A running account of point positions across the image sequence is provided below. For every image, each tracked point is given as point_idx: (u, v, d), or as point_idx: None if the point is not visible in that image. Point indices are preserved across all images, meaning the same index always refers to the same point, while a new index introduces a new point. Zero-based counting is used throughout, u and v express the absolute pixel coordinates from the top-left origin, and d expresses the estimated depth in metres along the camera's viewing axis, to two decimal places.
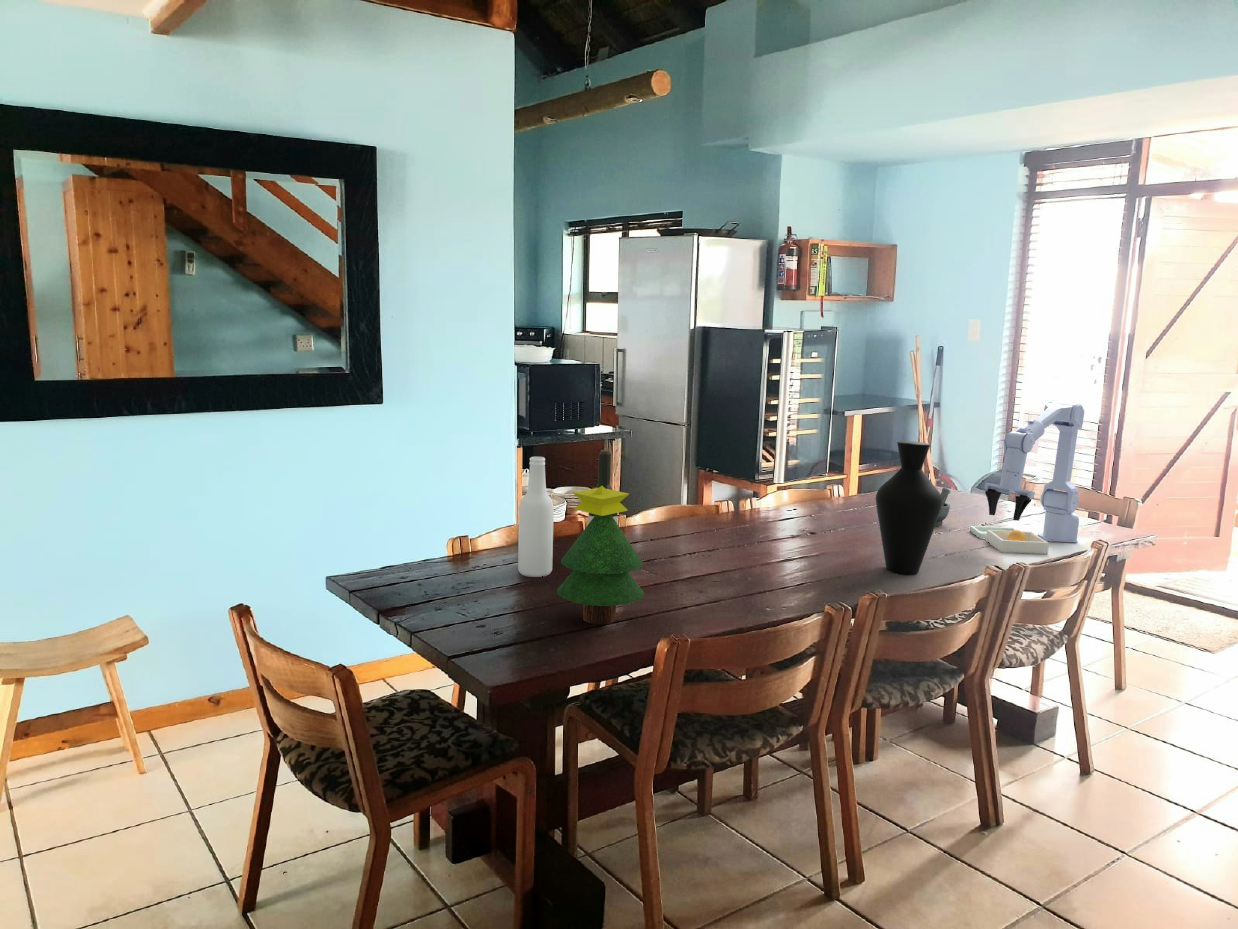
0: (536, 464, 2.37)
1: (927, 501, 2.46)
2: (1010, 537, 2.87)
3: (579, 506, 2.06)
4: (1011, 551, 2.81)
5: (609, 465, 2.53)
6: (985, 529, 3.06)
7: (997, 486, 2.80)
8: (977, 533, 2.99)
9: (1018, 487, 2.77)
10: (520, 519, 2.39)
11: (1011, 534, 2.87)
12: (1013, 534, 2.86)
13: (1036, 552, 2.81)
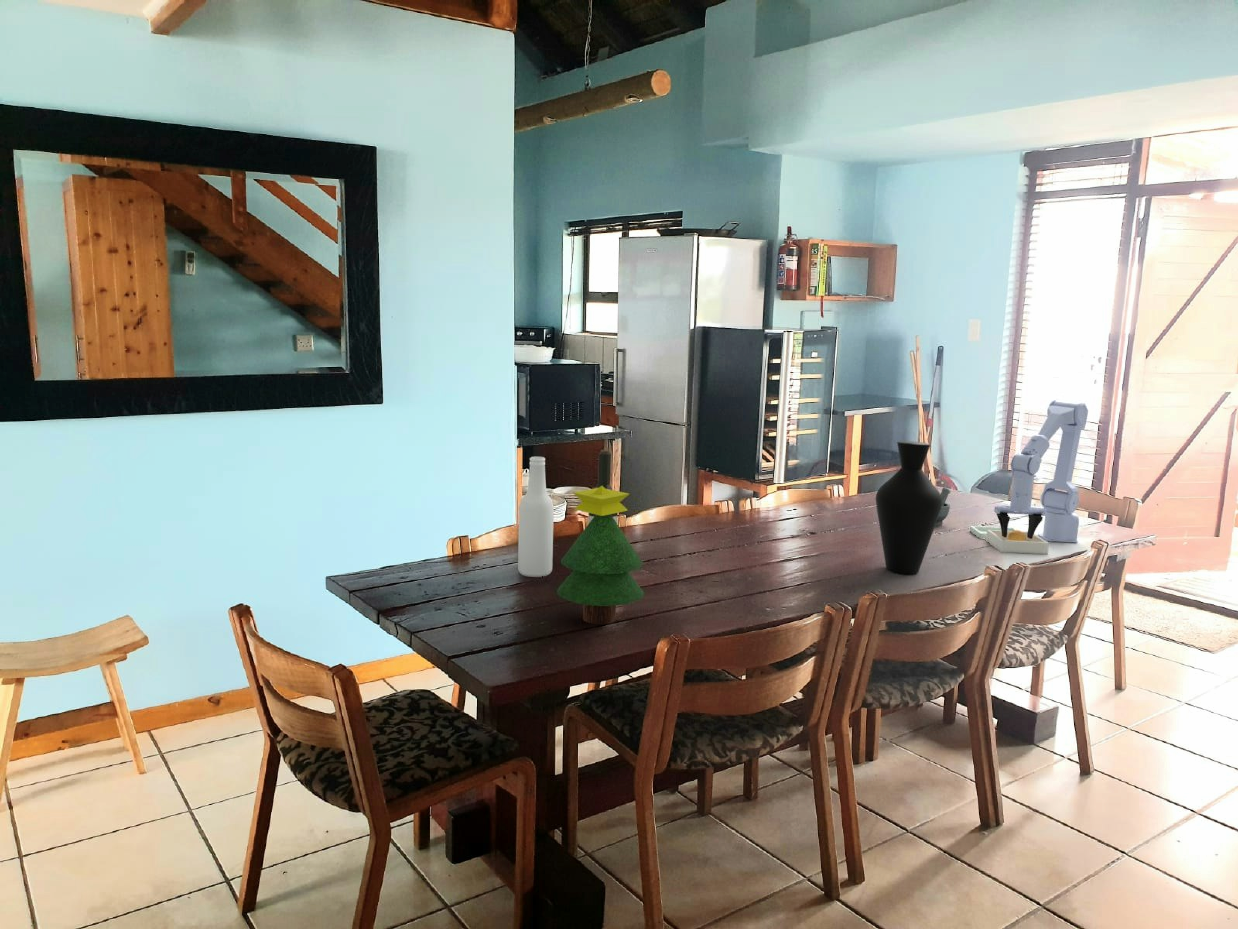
0: (536, 464, 2.37)
1: (927, 501, 2.46)
2: (1010, 537, 2.87)
3: (579, 506, 2.06)
4: (1011, 551, 2.81)
5: (609, 465, 2.53)
6: (985, 529, 3.06)
7: (1014, 510, 2.84)
8: (977, 533, 2.99)
9: None
10: (520, 519, 2.39)
11: (1011, 534, 2.87)
12: (1013, 534, 2.86)
13: (1036, 552, 2.81)
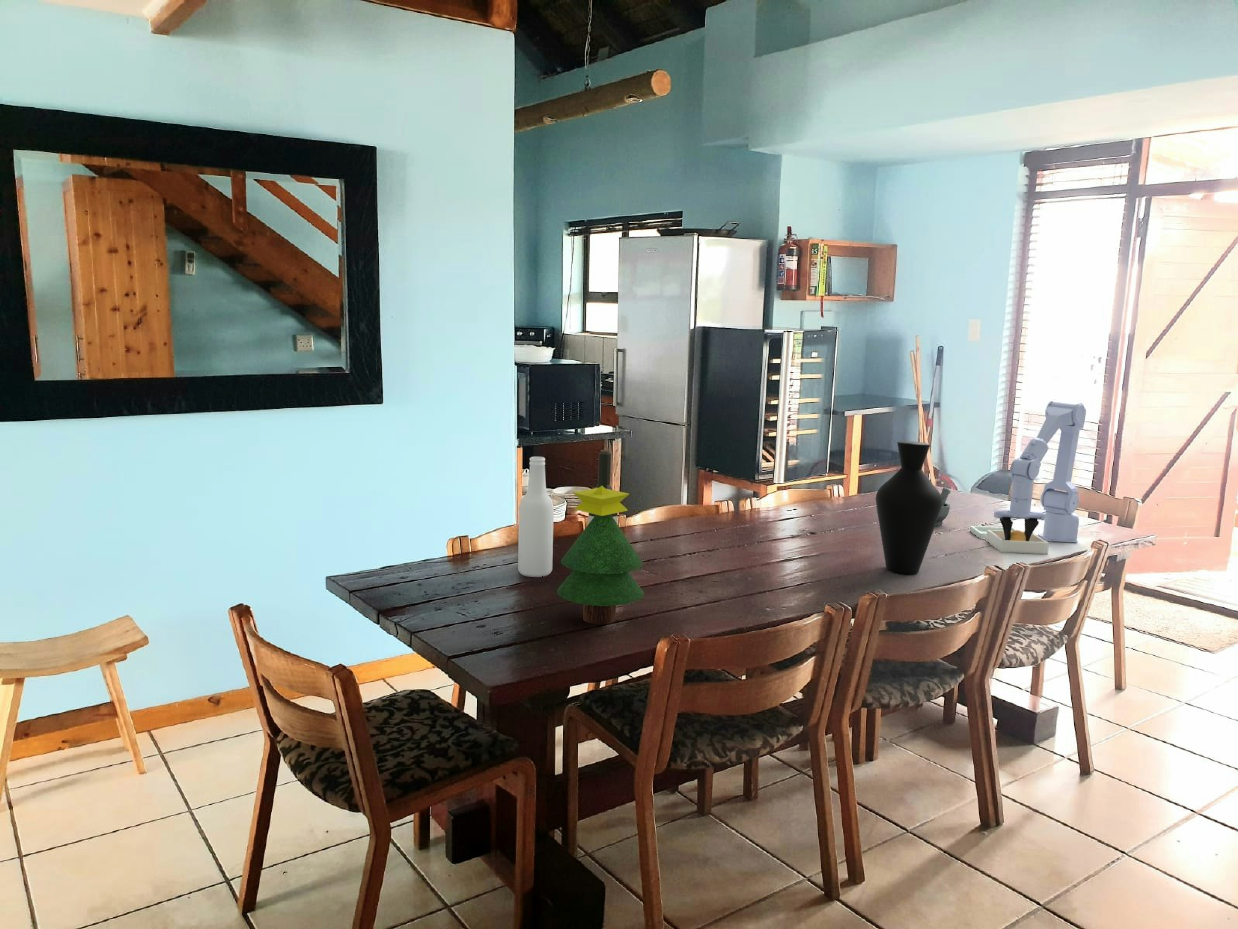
0: (536, 464, 2.37)
1: (927, 501, 2.46)
2: (1010, 537, 2.87)
3: (579, 506, 2.06)
4: (1011, 551, 2.81)
5: (609, 465, 2.53)
6: (985, 529, 3.06)
7: (1013, 515, 2.84)
8: (977, 533, 2.99)
9: None
10: (520, 519, 2.39)
11: (1011, 534, 2.87)
12: (1013, 534, 2.86)
13: (1036, 552, 2.81)
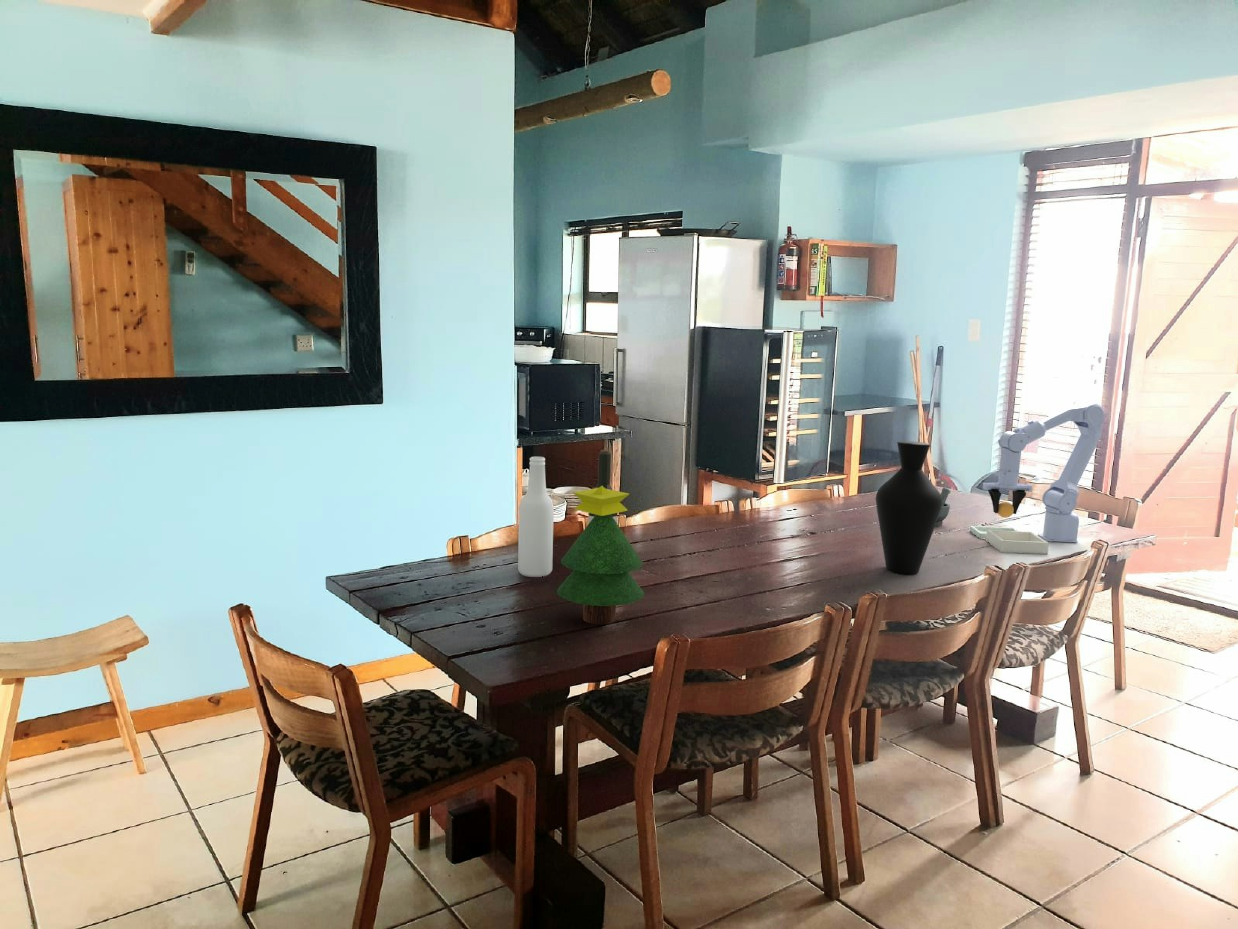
0: (536, 464, 2.37)
1: (927, 501, 2.46)
2: (999, 508, 2.95)
3: (579, 506, 2.06)
4: (1011, 551, 2.81)
5: (609, 465, 2.53)
6: (985, 529, 3.06)
7: (1001, 486, 2.93)
8: (977, 533, 2.99)
9: None
10: (520, 519, 2.39)
11: (1000, 505, 2.95)
12: (1001, 506, 2.95)
13: (1036, 552, 2.81)
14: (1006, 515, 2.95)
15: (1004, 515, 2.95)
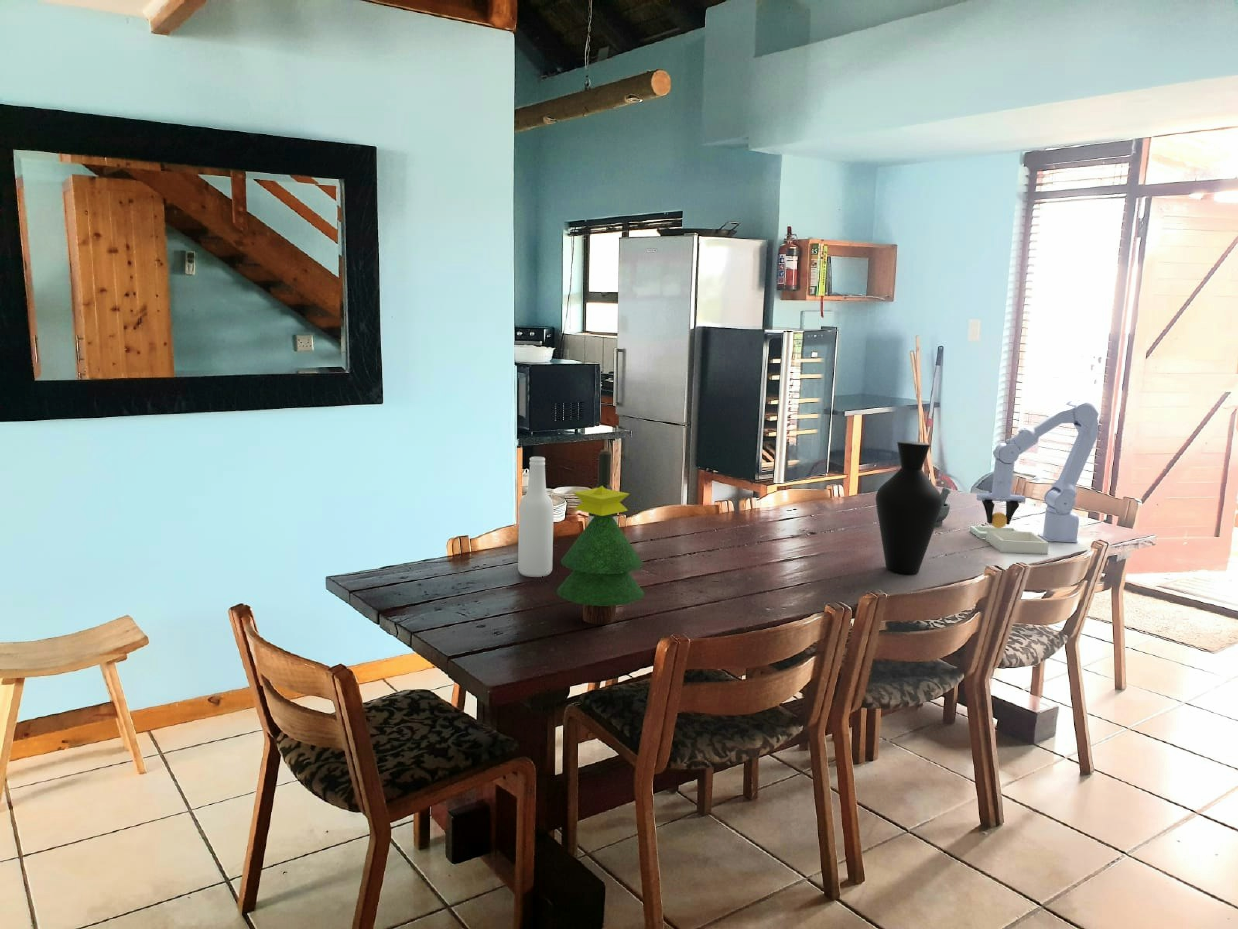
0: (536, 464, 2.37)
1: (927, 501, 2.46)
2: (992, 519, 3.00)
3: (579, 506, 2.06)
4: (1011, 551, 2.81)
5: (609, 465, 2.53)
6: (985, 529, 3.06)
7: (995, 497, 2.97)
8: (977, 533, 2.99)
9: None
10: (520, 519, 2.39)
11: (993, 516, 3.00)
12: (995, 516, 2.99)
13: (1036, 552, 2.81)
14: (999, 525, 2.99)
15: (997, 525, 2.99)
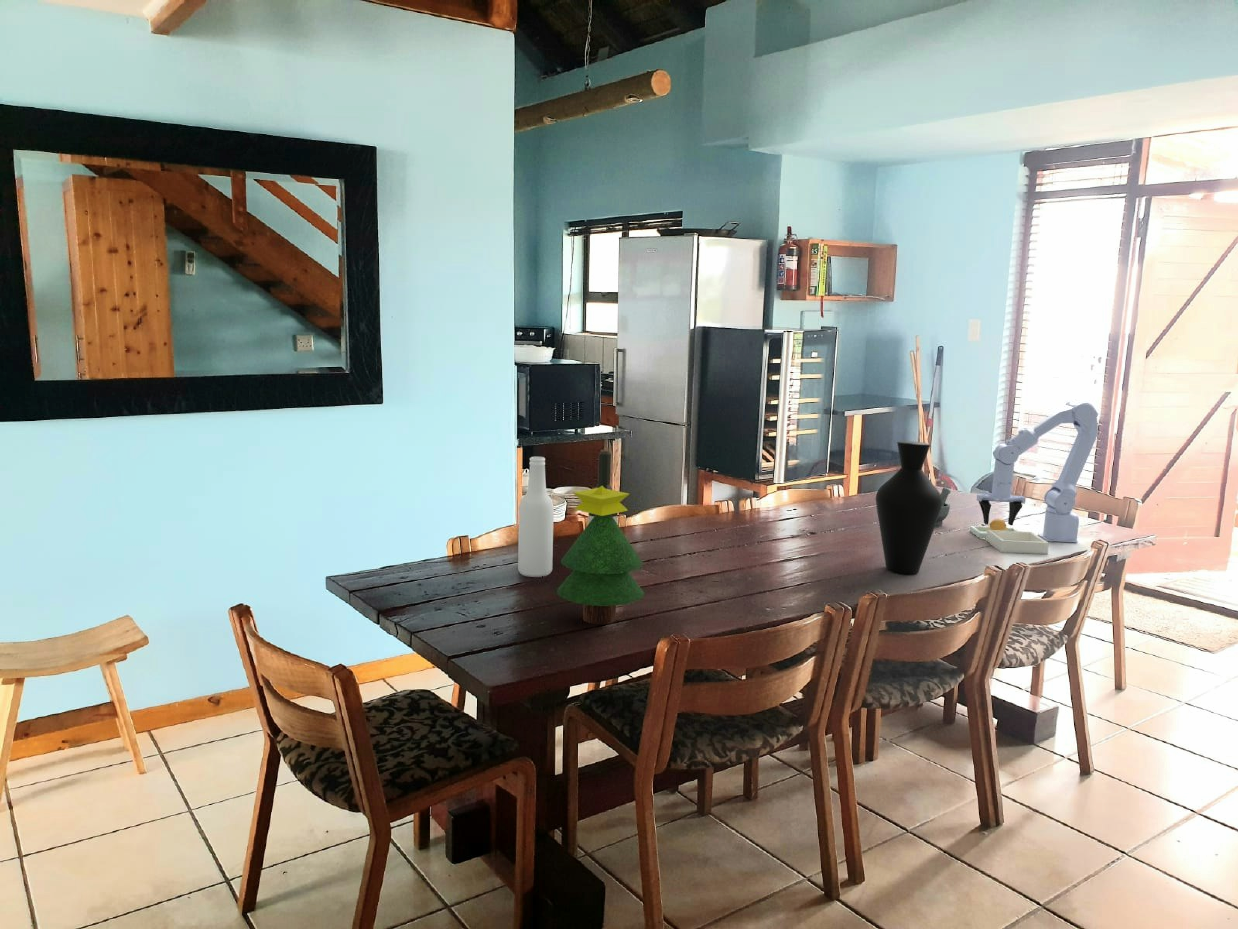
0: (536, 464, 2.37)
1: (927, 501, 2.46)
2: (991, 526, 3.00)
3: (579, 506, 2.06)
4: (1011, 551, 2.81)
5: (609, 465, 2.53)
6: (985, 529, 3.06)
7: (995, 498, 2.97)
8: (977, 533, 2.99)
9: None
10: (520, 519, 2.39)
11: (992, 523, 3.00)
12: (994, 523, 3.00)
13: (1036, 552, 2.81)
14: None
15: None
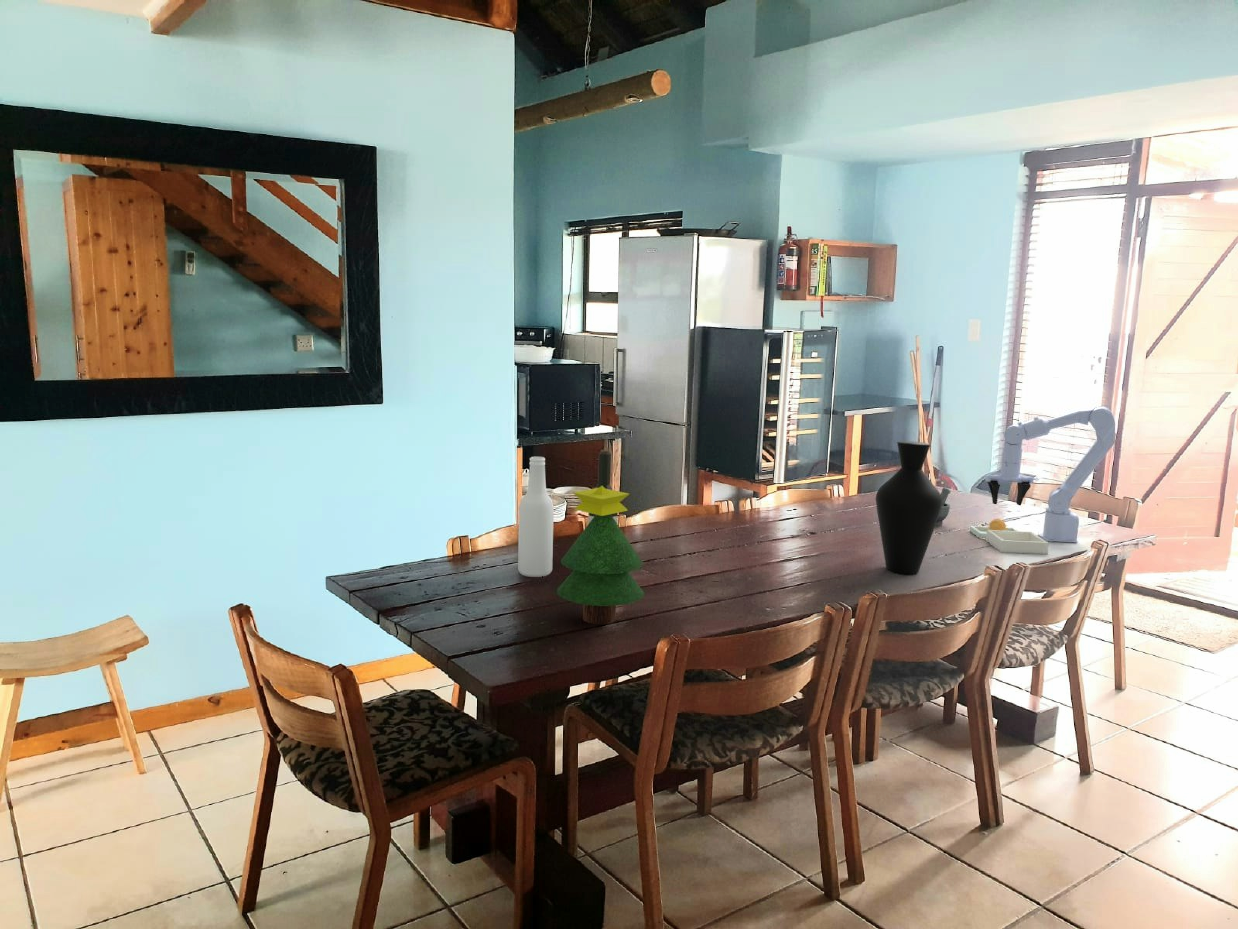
0: (536, 464, 2.37)
1: (927, 501, 2.46)
2: (991, 526, 3.00)
3: (579, 506, 2.06)
4: (1011, 551, 2.81)
5: (609, 465, 2.53)
6: (985, 529, 3.06)
7: (1003, 478, 3.02)
8: (977, 533, 2.99)
9: None
10: (520, 519, 2.39)
11: (992, 523, 3.00)
12: (993, 523, 3.00)
13: (1036, 552, 2.81)
14: None
15: None
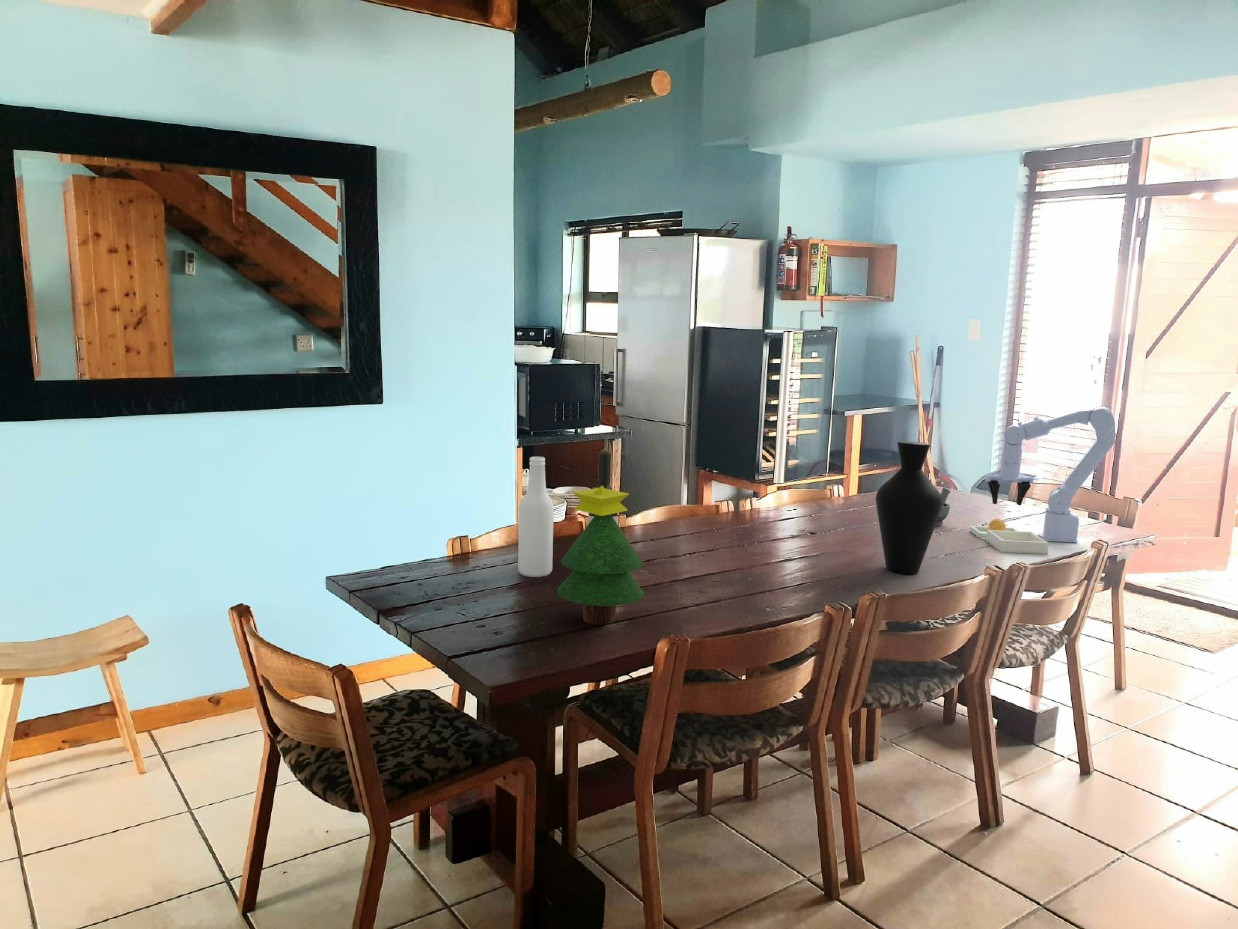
0: (536, 464, 2.37)
1: (927, 501, 2.46)
2: (991, 526, 3.00)
3: (579, 506, 2.06)
4: (1011, 551, 2.81)
5: (609, 465, 2.53)
6: (985, 529, 3.06)
7: (1003, 478, 3.02)
8: (977, 533, 2.99)
9: None
10: (520, 519, 2.39)
11: (991, 523, 3.00)
12: (993, 523, 3.00)
13: (1036, 552, 2.81)
14: None
15: None
